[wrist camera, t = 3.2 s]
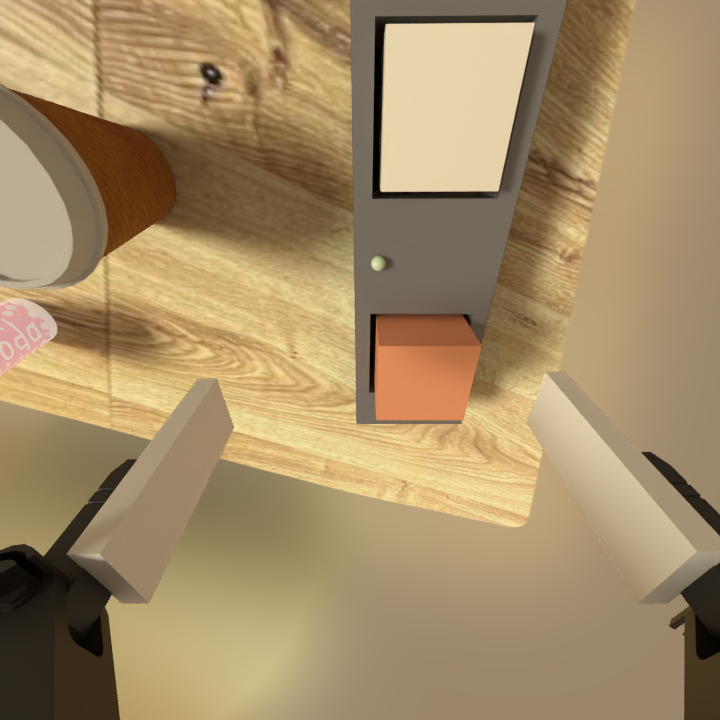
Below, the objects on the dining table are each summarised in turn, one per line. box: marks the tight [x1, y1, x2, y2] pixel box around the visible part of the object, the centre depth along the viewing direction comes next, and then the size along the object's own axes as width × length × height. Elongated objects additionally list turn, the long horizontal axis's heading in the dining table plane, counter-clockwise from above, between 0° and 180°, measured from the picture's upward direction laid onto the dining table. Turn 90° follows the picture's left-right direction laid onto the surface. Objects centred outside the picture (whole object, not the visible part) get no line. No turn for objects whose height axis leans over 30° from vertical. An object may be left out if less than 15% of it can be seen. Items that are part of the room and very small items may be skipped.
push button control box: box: [350, 0, 567, 424], centre depth 22 cm, size 36×10×6 cm, turn 0°
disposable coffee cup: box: [0, 84, 176, 289], centre depth 18 cm, size 10×10×12 cm
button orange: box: [374, 314, 482, 420], centre depth 25 cm, size 7×7×5 cm
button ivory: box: [378, 23, 535, 192], centre depth 19 cm, size 7×7×5 cm
